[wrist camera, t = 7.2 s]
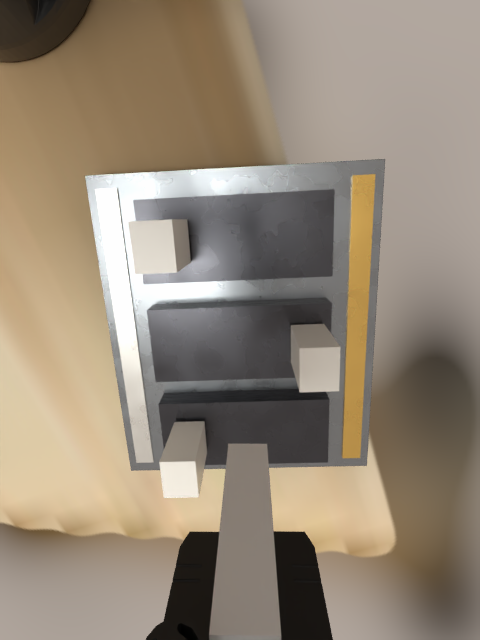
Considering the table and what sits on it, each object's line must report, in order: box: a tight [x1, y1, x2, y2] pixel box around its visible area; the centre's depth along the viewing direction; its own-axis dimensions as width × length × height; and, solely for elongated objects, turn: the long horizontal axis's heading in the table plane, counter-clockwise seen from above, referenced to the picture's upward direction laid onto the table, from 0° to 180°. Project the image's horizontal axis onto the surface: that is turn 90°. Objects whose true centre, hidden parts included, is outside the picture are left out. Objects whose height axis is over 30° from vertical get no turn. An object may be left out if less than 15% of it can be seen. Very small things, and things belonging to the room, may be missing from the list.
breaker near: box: [128, 219, 191, 274], centre depth 23 cm, size 3×2×5 cm
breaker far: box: [159, 421, 207, 498], centre depth 27 cm, size 3×2×5 cm
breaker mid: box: [291, 324, 341, 392], centre depth 24 cm, size 3×2×5 cm
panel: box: [85, 159, 385, 471], centre depth 29 cm, size 26×22×4 cm
